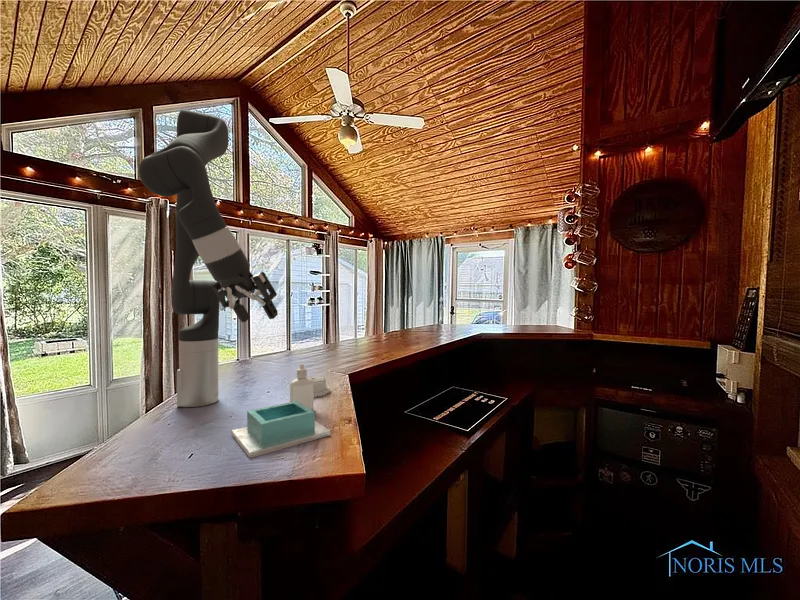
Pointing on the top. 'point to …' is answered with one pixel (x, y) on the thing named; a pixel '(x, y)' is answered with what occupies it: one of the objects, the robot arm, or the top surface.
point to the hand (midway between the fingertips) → (259, 318)
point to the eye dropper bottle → (302, 388)
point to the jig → (278, 428)
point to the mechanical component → (319, 386)
